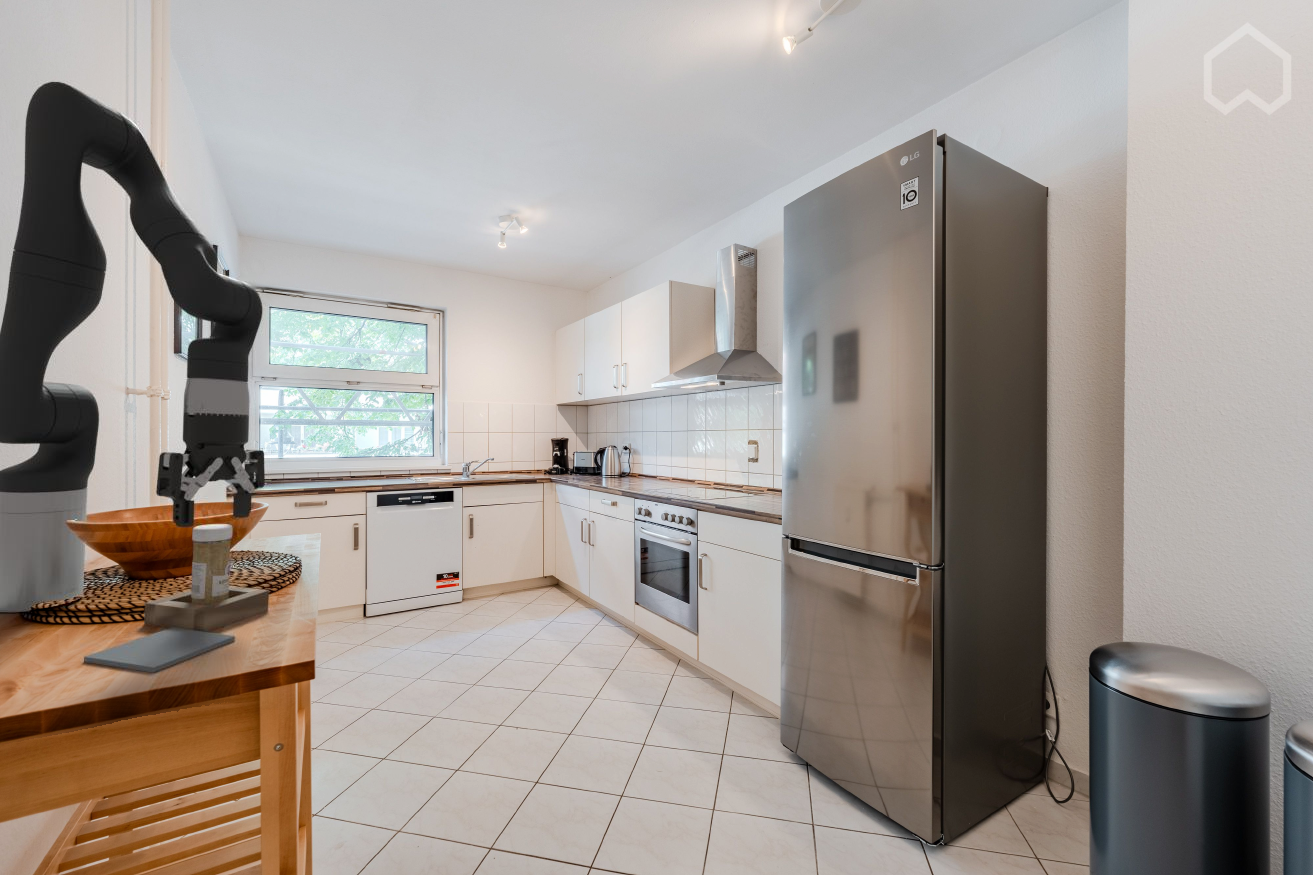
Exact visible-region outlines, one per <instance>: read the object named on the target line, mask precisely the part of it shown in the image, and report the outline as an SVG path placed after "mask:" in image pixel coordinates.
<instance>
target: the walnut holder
mask: <svg viewBox="0 0 1313 875" xmlns="http://www.w3.org/2000/svg"><path fill="white" fill-rule="evenodd" d="M269 593H270V590H269V589H268V590H267V589H260V588H251V587H243V586H235V585H229V592H228V599H226V600H223V601H220V602H217V603H213V604H210V605H199V604H192V597H191V590H188V591H184V592H180V593H176V594H173V595H169V596H165V597H161V598H158V599H155V600H151V601H147V602H145V604H144V620H143V621H144V622H143V625H147V626H154V627H160V628H161V627H162V628H167V629H169V628H172V627H173V628H180V629H187V630H195V631H202V632H210V631H213V630H215V629H218V628H221V627H223V626H227V625H229V624H232V623H234V622H238V621H240V620H243V619H245V618H249V617H251V616H255V615H257V614H261V613H263V612H266V611H268V610H269V598H270V594H269Z"/></svg>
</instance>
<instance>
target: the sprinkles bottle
mask: <svg viewBox="0 0 1313 875" xmlns="http://www.w3.org/2000/svg"><path fill="white" fill-rule="evenodd" d="M232 537H233V526H232V525H231V524H226V523H214V524H213V523H211V524H202V525H197V526H194V527H193V529H192V538H191V540H192V544H193V554H192V555H193V556H192V564H191V565H192V566H191V567H192V568H191V585H190V586H191V588H190V589H191V590H190V591H191V597H192V604H199V605H210V604H213V603H217V602H220V601H223V600H226V599H228V592H229V586H230V574H231V573H230V572H231V562H230V560H231V559H230V557H231V541H232Z"/></svg>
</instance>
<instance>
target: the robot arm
mask: <svg viewBox="0 0 1313 875" xmlns="http://www.w3.org/2000/svg"><path fill="white" fill-rule="evenodd" d="M24 132H25V133H24V135H25V136H24V177H23V178H24V179H23V180H24V182H23V190H22V200H21V207H20V213H19V214H20V215H19V221H18V226H17V227H18V228H17V232H16V237H15V241H14V246H13V251H12V256H11V262H10V263H11V264H10V267H9V276H8V285H7V292H6V293H7V294H6V300H5V305H4V306H5V307H4V312H3V315H2V316H3V318H2V322H1V327H0V444H9V445H21V444H22V445H30V444H33V445H34V444H35V445H37V444H38V448H37V451H36V453H35V454H34V455H32V456H31V457H30V458H28V459H26V460H24V461H22V462H20V463H17V464H15V465H11V466H9V467H6V468H3V469H1V470H0V613H19V612H30V609H31V607H32V606H34V605H35V604H38V603H43V602H50V601H59V600H65V599H69V598H74V597H77V596H79V595H81V594H83V595H84V579H85V577H84V576H85V564H86V563H85V562H86V560H85V558H86V543H85V544H84V543H83V542H82V541H81V540H80V539H79V538H78V537H77V536H76V535H75V534H74V533H73V531H71V530H70V529H69V527H68V526H67V525H66V521H67V520H75V519H77V520H75V521H84V522H86V523H87V514H88V513H87V511H88V510H87V508H88V483H89V482H88V481H89V478H90V475H91V474H92V471H93V470H94V466H95V460H96V453H97V452H96V450H97V443H98V434H99V424H100V411H99V406H98V405H99V404H98V402H97V399H96V398H95V396H94V394H93V393H92V392H91V391H90V390H89V389H87V388H86V387H84V386H81V385H78V384H73V383H60V382H50V381H44V379H45V375H46V371H47V368H48V364H49V361H50V359H51V357H52V355H53V353H54V352H55V350H56V349H57V347H58V346H59V345H60V344H61V342H62V341H63V340H64V339H65V338H66V337H68V336H69V335H70V334H71V333H72V332H73V331H74V330H76V329H77V328H78V327H79V326H80V325H81V324H83V323H84V322H85V320H87V319H88V318H89V317H90V316H91V315H92V314H93V312H94V311H95V310H96V309H97V307H98V306H99V304H100V302H101V299H102V296H103V289H104V285H105V280H106V272H107V263H108V262H107V254H106V251H105V248H104V245H103V243H102V240H101V238H100V236H99V233H98V231H97V230H96V228H95V225H94V223H93V221H92V220H91V217H90V215H89V213H88V210H87V208H86V205H85V201H84V199H83V195H82V184H81V183H82V182H81V181H82V180H81V179H82V170H83V169H82V167H83V164H85V165H87V166H90V167H92V168H95V169H96V170H101V171H104V172H105V173H106V174H107V175H108V176H110V177H111V178H112V179H113V180H114V181H115V182H116V183H117V184H118V186H121V188H122V189H123V190H124V191H125V193H126V194H127V195H128V197H129V201H130V204H129V216H130V217H129V218H130V219H129V220H130V222H131V225H132V227H133V229H134V230H135V233H136V235H137V236H138V238H139V239H140V241H141V242H142V243H143V244H144V246H145V247H146V248H147V250H148V251H149V252H150V254H151V256H152V257H153V258H154V260H156V261H157V263H158V264H159V266H160V269H161V271H162V274H163V278H164V280H165V283H166V286H167V288H168V291H169V294H170V295H171V298H172V299H173V301H174V302H175V303H176V305H177V306H178V307H179V308H180V309H181V310H182V311H183V312H185V313H186V314H188V315H189V316H191V317H193V318H196V319H199V320H203V321H205V322H206V321H208V322H211V323H214V326H213V329H212V332H211V334H210V336H209V337H201V338H196V339H193V340H191V342H190V343H189V344H188V346H187V347H188V348H187V355H186V356H187V357H186V358H187V359H186V360H187V362H186V381H185V382H186V383H185V389H184V391H183V392H184V394H183V409H182V410H183V414H182V416H183V418H182V421H183V422H182V441H183V443H184V444H185V446H186V447H185V450H184V451H183V453H181V452H174V451H173V452H170V451H169V452H168V451H166V452H165V451H164V452H161V453H160V454H159V456H158V458H159V459H158V469H157V480H156V488H155V489H156V491H155V493H156V495H157V496H158V497H164V498H169V499H171V500H172V507H173V508H172V522H173V523H174V524H175V526H176V527H178V528H190V527H193V526H194V523H195V521H194V519H195V500H194V499H193V498H195V495H196V494H197V493H198V491H199V490H200V489H201V488H203V487H205V486H206V485H207V483H208V482H218V481H225V482H226V483H227V484H229V485H230V486H231V487H232V489H233V491H234V492H235V493H233V499H232V500H233V501H232V502H233V504H232V506H233V508H232V510H233V511H232V516H233V517H234V518H235V519H244V518H249V516H250V514H251V511H252V499H253V498H252V496H253V493H254V492H255V491H256V490H257V489H259V488H260V489H263V488H264V487H265V484H266V479H265V475H266V474H265V472H266V471H265V452H264V451H263V450H259V449H246V450H245V445H246V444H247V443H248V442H249V430H250V400H251V399H250V391H249V356H250V353H251V350H252V348H253V346H254V342H255V340H256V337H257V335H258V331H259V328H260V325H261V322H262V318H263V303H262V299H261V297H260V295H259V293H258V291H257V290H256V289H255V287H253V286H252V285H251V284H250V283H248V282H245V281H242V280H239V279H238V278H237V279H236V278H234V277H230V276H228V275H224V274H221V273H218V272H217V271H216V270H215V269H216V267H217V265H218V255H217V251H216V250H215V249H214V246H213V245H212V243H211V242H210V241H209V240H208V238H207V237H206V236H205V235H204V233H203V232H202V230H201V229H200V228H199V227H198V225H197V223H195V222H194V220H193V219H192V218H191V217H190V215H189V214H188V212H187V211H186V210H185V208H184V207H183V205H182V204H181V202H180V201H179V199H178V198H177V197H176V196H177V195H176V194H175V192H174V191H173V189H172V187H171V186H170V184H169V182H168V180H167V177H166V176H165V175H164V173H163V170H162V169H161V166H160V164H159V163H158V161H157V158H156V157H155V155H154V153H153V151H152V149H151V147H150V144H149V143H148V141H147V140H146V137H145V136H144V134H143V133H142V132H141V130H140V127H138V126H137V124H135V122H133V121H132V120H131V119H130V118H129V117H127V116H126V115H124V114H123V113H122V112H120V111H118V110H116V109H115V108H113V107H111V106H109V105H107V104H106V103H103V102H102V101H100V100H99V99H97V98H95V97H92V96H91V95H89V94H87V93H85V92H83V91H81V90H79V89H78V88H76V87H73V86H72V85H69V84H67V83H64V82H61V81H50V82H49V81H48V82H46V83H43V84H42V85H41V86H39V87H38V88H37V89H36V90H35V91H34V92H33V94H32V96H31V98H30V100H29V103H28V107H27V111H26V117H25V131H24ZM243 464H244V467H243ZM184 467H187V468H185V469H184V471H183V468H184Z"/></svg>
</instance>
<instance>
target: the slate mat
mask: <svg viewBox="0 0 1313 875" xmlns="http://www.w3.org/2000/svg"><path fill="white" fill-rule="evenodd" d="M235 640H236V636H235V635H229V634H224V633H223V634H222V633H215V632H210V631H207V632H202V631H195V630H187V629H180V628H173V627H172V628H167V629H164V630H161V631H158V632H155V633H151V634H149V635H148V634H147V635H146V636H142V637H140V638H137V639H134V640H129V641H127V642H125V643H122V644H117V645H115V646H111V647H109V648H107V649H103V650H101V651H100V650H99V651H97V652H94V653H90V654H88V655H84V657H83V662H84V663H89V664H90V663H91V664H97V665H102V666H103V665H104V666H109V667H116V668H123V669H128V670H134V671H140V672H148V673H154V674H155V672H158V671H162V670H164V669H166V668H169V667H172V666H173V665H176V664H179V663H182V662H184V661H186V660H189V659H192V658H194V657H196V656H199V655H201V654H204V653H207V652H209V651H212V650H214V649H218V648H219V647H222V646H224V645H227V644H229V643H231V642H234V641H235Z"/></svg>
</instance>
